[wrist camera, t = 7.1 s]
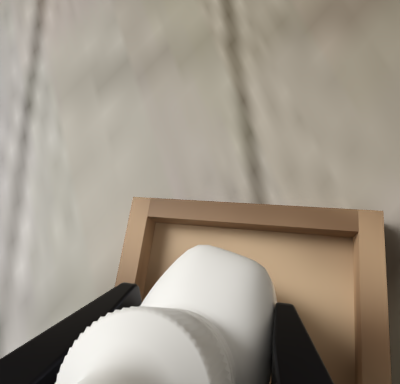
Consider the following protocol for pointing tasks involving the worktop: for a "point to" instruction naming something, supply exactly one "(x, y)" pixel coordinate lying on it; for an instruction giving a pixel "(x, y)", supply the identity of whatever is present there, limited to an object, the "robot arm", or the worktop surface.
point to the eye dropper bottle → (185, 328)
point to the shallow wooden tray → (284, 268)
